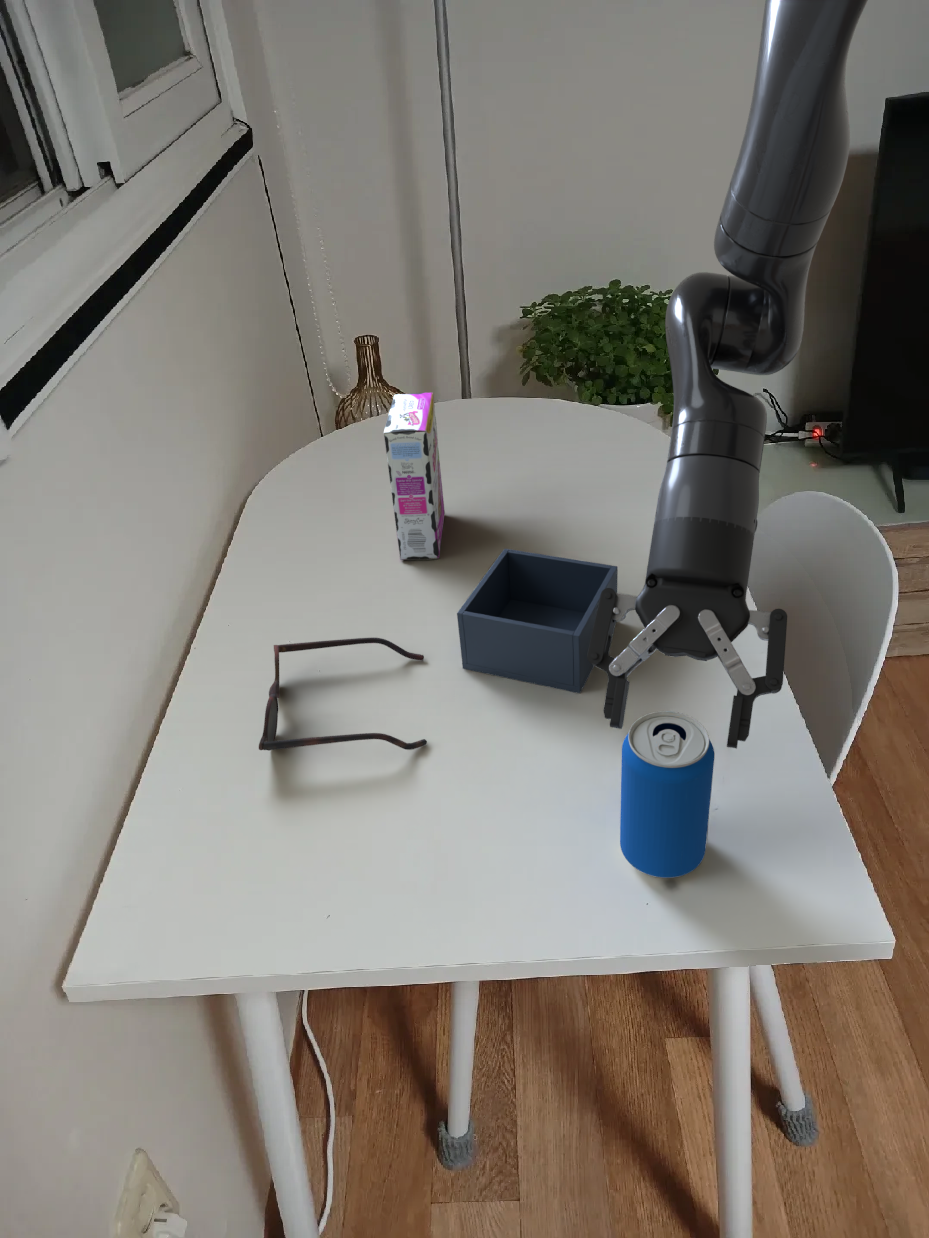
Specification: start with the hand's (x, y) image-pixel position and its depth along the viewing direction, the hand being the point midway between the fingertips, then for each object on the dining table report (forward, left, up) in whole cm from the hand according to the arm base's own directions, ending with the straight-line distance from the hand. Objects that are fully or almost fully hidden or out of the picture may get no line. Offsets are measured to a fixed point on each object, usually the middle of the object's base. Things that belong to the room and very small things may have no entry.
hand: (673, 737), depth 71 cm
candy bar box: (+39, -35, -10) cm, 53 cm away
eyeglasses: (+32, -4, -10) cm, 33 cm away
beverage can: (0, +3, -10) cm, 10 cm away
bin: (+18, -19, -9) cm, 28 cm away
